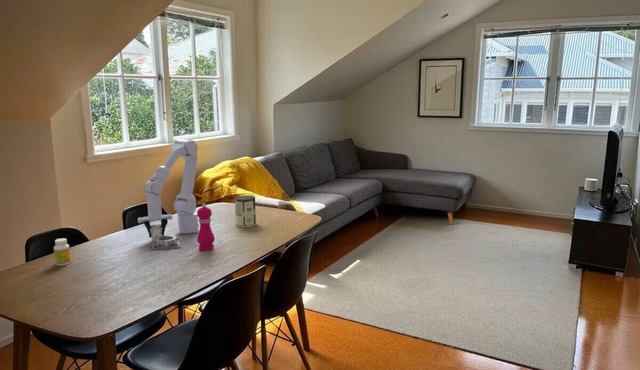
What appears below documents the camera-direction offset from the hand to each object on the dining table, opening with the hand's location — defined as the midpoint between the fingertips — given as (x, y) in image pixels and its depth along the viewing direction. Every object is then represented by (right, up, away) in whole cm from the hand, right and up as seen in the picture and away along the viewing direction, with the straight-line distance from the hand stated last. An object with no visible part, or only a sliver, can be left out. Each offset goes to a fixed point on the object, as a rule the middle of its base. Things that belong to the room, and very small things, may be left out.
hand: (156, 236), depth 219 cm
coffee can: (+36, +3, +26) cm, 45 cm away
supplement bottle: (-27, -8, -28) cm, 40 cm away
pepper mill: (+25, -4, -12) cm, 28 cm away
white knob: (0, -2, 0) cm, 2 cm away
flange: (+7, -3, -7) cm, 10 cm away
